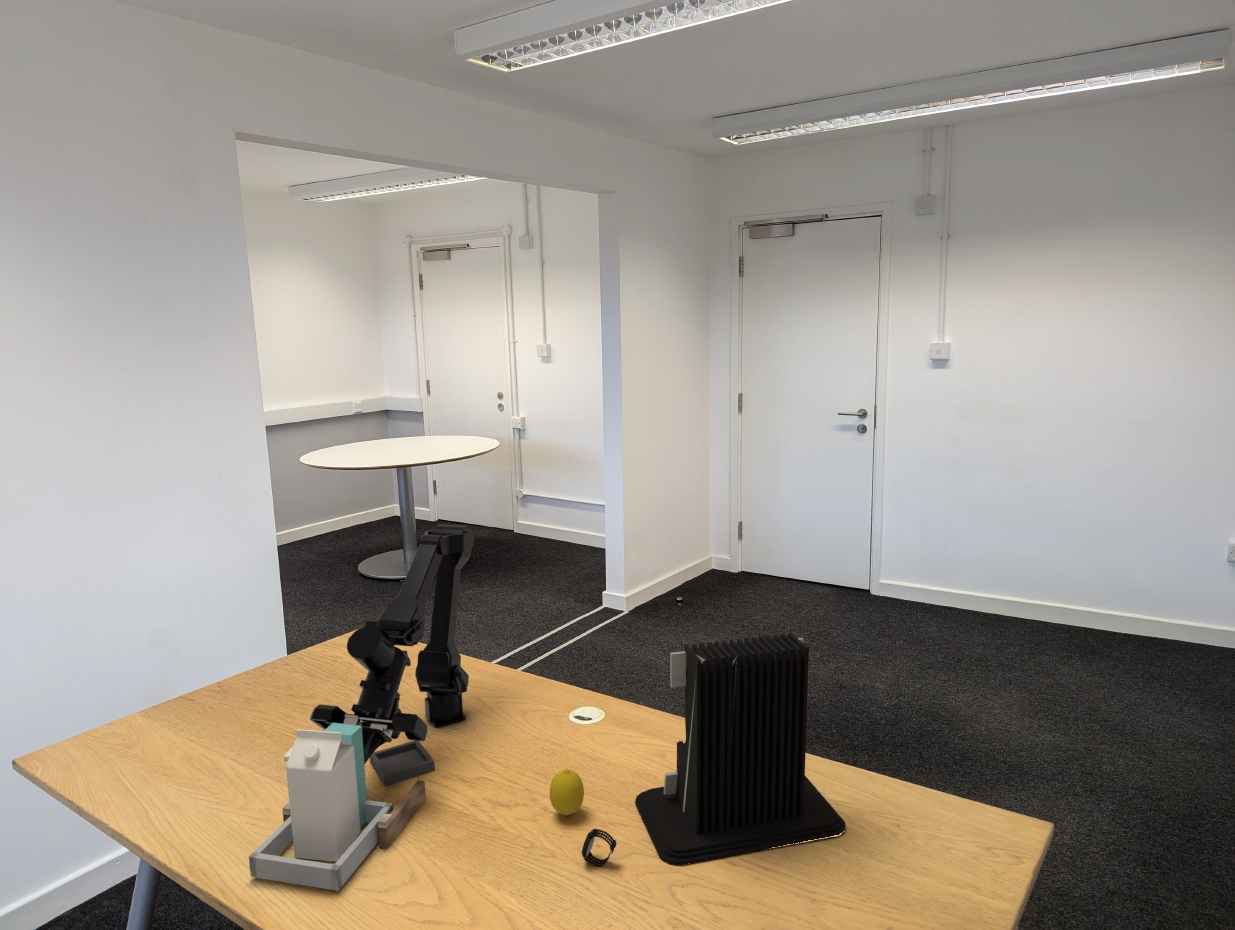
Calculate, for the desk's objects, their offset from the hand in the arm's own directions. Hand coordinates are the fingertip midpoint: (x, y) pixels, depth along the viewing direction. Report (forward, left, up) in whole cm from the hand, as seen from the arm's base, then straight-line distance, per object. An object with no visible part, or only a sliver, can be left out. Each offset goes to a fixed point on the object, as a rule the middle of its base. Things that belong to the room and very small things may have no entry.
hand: (352, 776), depth 128 cm
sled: (+6, +6, -7) cm, 12 cm away
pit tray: (-11, -11, -7) cm, 17 cm away
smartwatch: (-27, +31, -8) cm, 42 cm away
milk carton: (+5, +5, -8) cm, 10 cm away
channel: (0, 0, -7) cm, 8 cm away
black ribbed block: (-52, +33, -8) cm, 62 cm away
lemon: (-29, +18, -8) cm, 35 cm away
